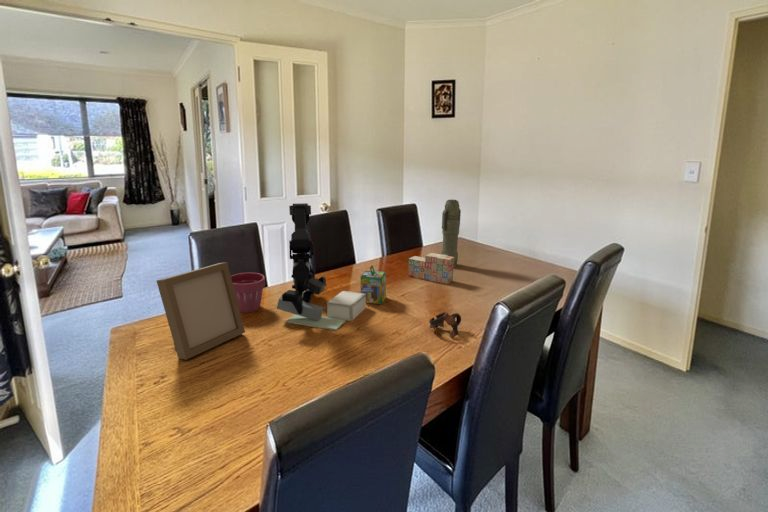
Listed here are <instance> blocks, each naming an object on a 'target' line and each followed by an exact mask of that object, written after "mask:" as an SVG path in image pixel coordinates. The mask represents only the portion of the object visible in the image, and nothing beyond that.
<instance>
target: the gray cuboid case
mask: <svg viewBox="0 0 768 512" xmlns="http://www.w3.org/2000/svg"><path fill="white" fill-rule="evenodd" d="M326 306H327V307H326V309H327V310H326V313H327V314H326V315H327V316H326V317H329V318H335V319H342V320H346V321H350V322H353V321H354V320H355V319H356V318H357V317H358V316H359V315H360V314H361V313H362V312H363V311H365V309H366V307H367V303H366V294H364V293H361V292H355V291H350V290H342V291H340V292H339V293H338V294H336V295H335V296H333V298H331V299H330V300H329V301H327V303H326Z"/></svg>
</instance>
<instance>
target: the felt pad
mask: <svg viewBox="0 0 768 512" xmlns="http://www.w3.org/2000/svg"><path fill="white" fill-rule="evenodd" d="M346 321H347V320H342V319H336V318H329V317H328V316H321V318H320V320H319V321H316V320H313V319H310V318H306V317H303V316H300V315H296V314H294V315H292V316H291V317H290V318H288V319H287V320H286V323H289V324H295V325H302V326H307V327H314V328H319V329H325V330H330V331H337V330H339V329H340V328H341V325H342V324H343V325H344V324H345V323H346ZM343 325H342V326H343Z"/></svg>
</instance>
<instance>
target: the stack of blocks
mask: <svg viewBox="0 0 768 512" xmlns="http://www.w3.org/2000/svg"><path fill="white" fill-rule="evenodd" d="M454 268H455V267H454V257H452V256H448V255H441V253H440V254H439V253H435V252H434V253H433V252H430V253H428V254H426V255H425V257H423V256H418V255H417V256H416V255H414V256H411V257H410V258H409V257H408V271H407V272H408V275H407V276H408V277H410V278H414V277H415V279H419V278H420V280H423V279H425V280H424V281H429V280H430V281H429V282H433V281H435V282H434V283H438V282H440V283H439V284H443V283H445V284H444V285H449V284H450V283H452V282H453V281H454ZM451 281H452V282H451ZM448 283H449V284H448Z"/></svg>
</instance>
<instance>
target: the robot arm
mask: <svg viewBox="0 0 768 512" xmlns="http://www.w3.org/2000/svg"><path fill="white" fill-rule="evenodd" d="M311 215H312V206H311V205H309V204H308V203H306V202H305V203H292V205H289V216H291V221H292V222H293V223H294V231H293V232H292V233H291V240H288V241H289V246H288V247H289V260H292V263H293V265H292V274H291V278H292V280H293V282H292V283H293V284H292V285H291V288H292V289H294V290H292V289H288V290H286V291H285V292H283V293H282V294H281V296H282V301H287V302H292V304H293V305H294V307H295V309H296V310H297V312H298V314H302V305H303V301H304V302H308V303H311V300H312V297H313V295H317V296H318V295H321V293H323V292H324V290H325V287H327V279H326V277H325V276H321V277H319V278H318V277H316V271H315V270H314V267H313V268H312V263H311V260H310V259H313V256H314V255H315V253H314V242H313V241H312V239H310V233H309V232H308V231H307V225H308V223H309V221H310V216H311Z"/></svg>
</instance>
